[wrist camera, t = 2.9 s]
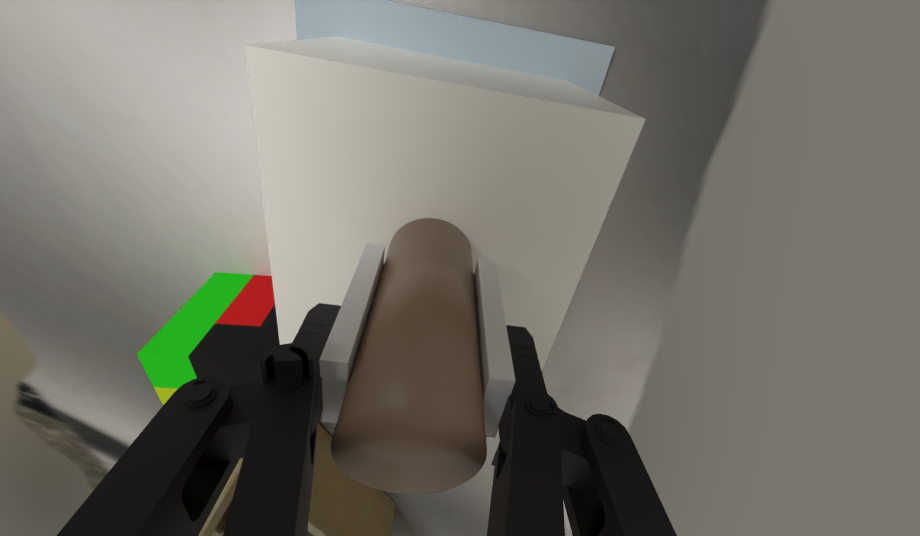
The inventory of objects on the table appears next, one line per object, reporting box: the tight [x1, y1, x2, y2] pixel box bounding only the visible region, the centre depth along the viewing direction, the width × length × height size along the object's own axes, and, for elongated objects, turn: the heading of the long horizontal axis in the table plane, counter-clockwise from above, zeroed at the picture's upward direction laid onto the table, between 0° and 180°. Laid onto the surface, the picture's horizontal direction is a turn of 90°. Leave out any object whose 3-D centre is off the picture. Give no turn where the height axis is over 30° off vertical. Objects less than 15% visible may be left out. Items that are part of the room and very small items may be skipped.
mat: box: [295, 0, 615, 96], centre depth 29 cm, size 20×20×1 cm
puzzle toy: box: [137, 273, 280, 405], centre depth 32 cm, size 10×10×10 cm
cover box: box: [244, 36, 646, 494], centre depth 19 cm, size 15×15×22 cm
